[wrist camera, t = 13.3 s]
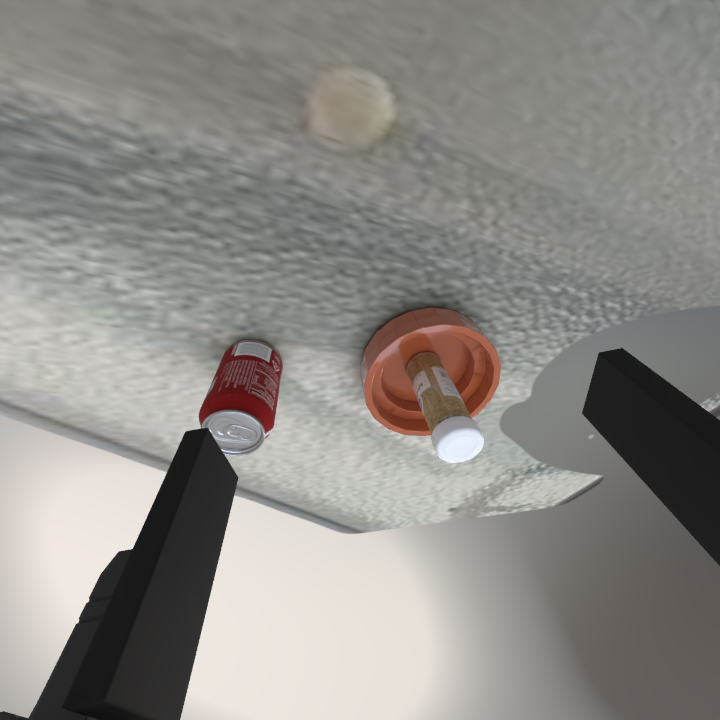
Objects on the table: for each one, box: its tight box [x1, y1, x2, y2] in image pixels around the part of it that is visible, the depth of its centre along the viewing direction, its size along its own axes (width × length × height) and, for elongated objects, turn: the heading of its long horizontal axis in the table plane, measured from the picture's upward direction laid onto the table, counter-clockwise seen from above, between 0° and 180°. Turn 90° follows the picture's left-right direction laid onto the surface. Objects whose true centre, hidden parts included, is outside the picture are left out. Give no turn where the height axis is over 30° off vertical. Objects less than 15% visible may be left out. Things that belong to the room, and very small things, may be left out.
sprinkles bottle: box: [406, 352, 484, 463], centre depth 37 cm, size 5×5×14 cm
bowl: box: [360, 307, 501, 436], centre depth 41 cm, size 16×16×5 cm
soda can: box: [199, 340, 283, 456], centre depth 36 cm, size 7×7×12 cm
